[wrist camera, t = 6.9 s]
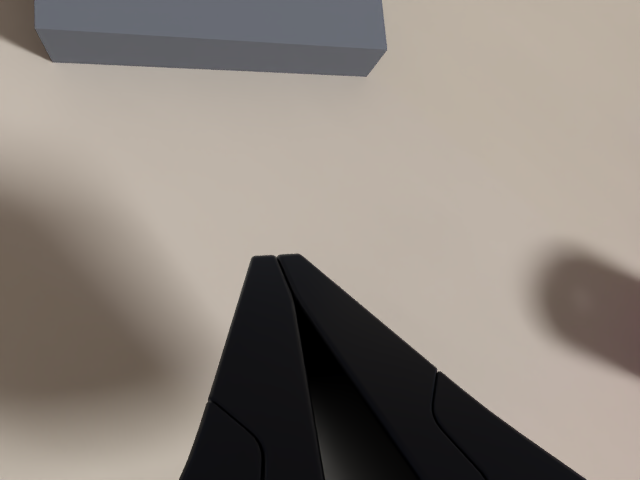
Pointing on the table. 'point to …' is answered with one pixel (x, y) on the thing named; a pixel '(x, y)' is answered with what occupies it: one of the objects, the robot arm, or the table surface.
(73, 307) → the table surface
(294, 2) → the tile
